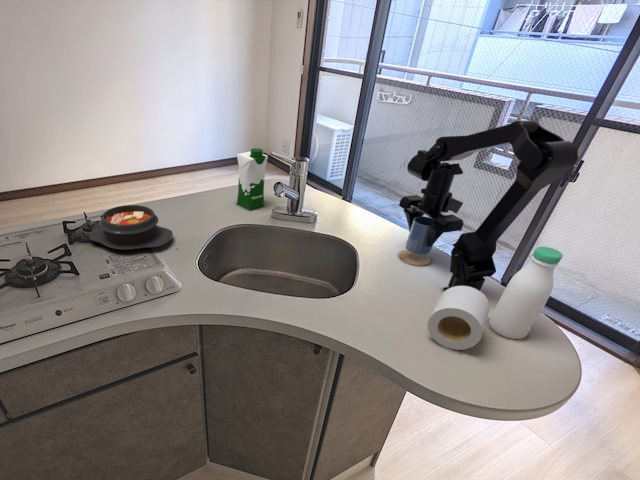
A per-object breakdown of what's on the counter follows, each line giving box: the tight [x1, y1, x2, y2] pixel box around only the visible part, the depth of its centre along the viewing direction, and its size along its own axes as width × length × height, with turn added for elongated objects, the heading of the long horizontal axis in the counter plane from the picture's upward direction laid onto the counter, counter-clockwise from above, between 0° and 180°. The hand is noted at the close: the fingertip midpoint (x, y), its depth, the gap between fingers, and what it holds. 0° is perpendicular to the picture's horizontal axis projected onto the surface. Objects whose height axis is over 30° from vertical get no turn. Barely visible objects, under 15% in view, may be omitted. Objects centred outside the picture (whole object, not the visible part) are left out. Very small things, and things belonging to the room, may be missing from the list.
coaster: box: [398, 249, 432, 267], centre depth 115 cm, size 9×9×1 cm
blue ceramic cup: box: [405, 215, 438, 255], centre depth 111 cm, size 9×7×8 cm
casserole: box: [88, 204, 173, 251], centre depth 117 cm, size 25×19×8 cm
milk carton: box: [236, 147, 269, 211], centre depth 138 cm, size 9×9×20 cm
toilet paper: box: [427, 286, 491, 351], centre depth 84 cm, size 10×10×10 cm
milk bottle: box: [488, 246, 563, 340], centre depth 83 cm, size 8×8×20 cm
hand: (420, 241), depth 111 cm, fingers closed on blue ceramic cup, 7 cm apart
